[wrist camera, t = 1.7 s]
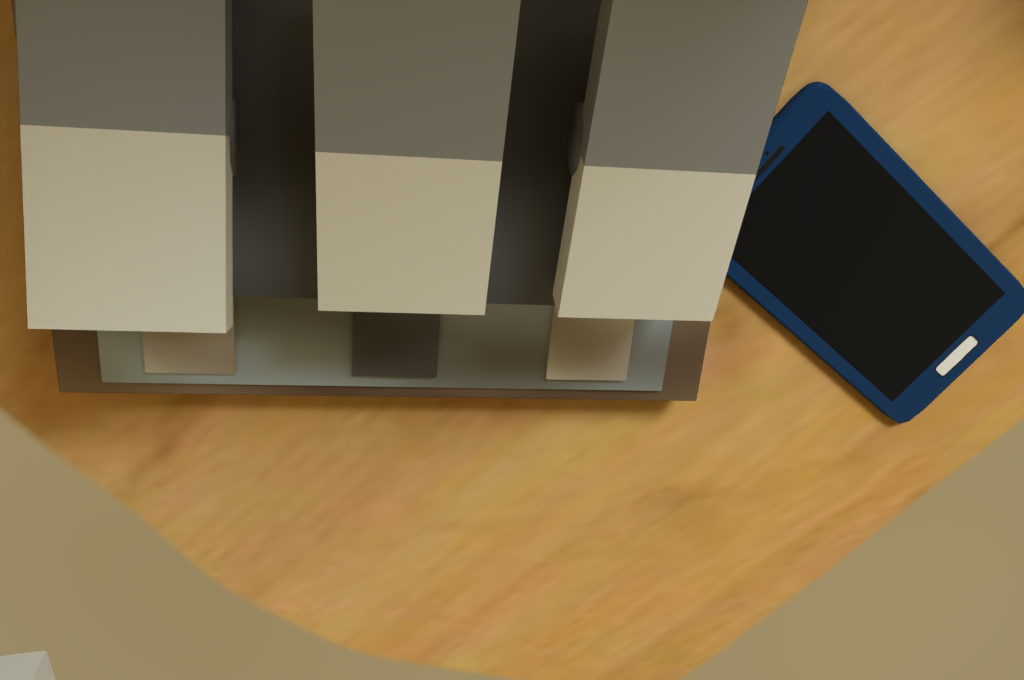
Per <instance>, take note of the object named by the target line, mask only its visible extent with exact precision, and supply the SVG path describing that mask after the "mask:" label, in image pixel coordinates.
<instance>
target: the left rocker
mask: <svg viewBox="0 0 1024 680" xmlns="http://www.w3.org/2000/svg"><path fill="white" fill-rule="evenodd" d="M15 4H16V30H17V56H18V82H19V108H20V135H21V161H22V187H23V213H24V239H25V265H26V292H27V318H28V329H63V330H106V331H149V332H193V333H227V332H228V330H229V329H230V328H231V327H232V326H233V248H232V176H235V175H236V173H237V169H238V163H239V149H240V129H239V115H238V108H237V103H236V101H235V99H232V0H15Z"/></svg>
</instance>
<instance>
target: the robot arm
mask: <svg viewBox="0 0 1024 680" xmlns="http://www.w3.org/2000/svg"><path fill="white" fill-rule="evenodd" d="M0 680H55V676H54V673H53V670H52V667H51V664H50V661H49V658H48V655H47V652H46V650H44V651H36V652H29V653H22V654H14V655H8V656H0Z"/></svg>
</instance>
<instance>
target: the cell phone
mask: <svg viewBox="0 0 1024 680" xmlns="http://www.w3.org/2000/svg"><path fill="white" fill-rule="evenodd" d="M726 276H727V277H728V278H730V279H731V280H732V281H733V282H734V283H735V284H736V285H738V286H739V287H740V288H741V289H742V290H743V291H744V292H746V293H747V294H748V295H749V296H750V297H751V298H752V299H754V300H755V301H756V302H757V303H758V304H759V305H760V306H762V307H763V308H764V309H765V310H766V311H767V312H768V313H770V314H771V315H772V316H773V317H774V318H775V319H776V320H778V321H779V322H780V323H781V324H782V325H783V326H784V327H785V328H787V329H788V330H789V331H790V332H791V333H792V334H793V335H795V336H796V337H797V338H798V339H799V340H800V341H801V342H803V343H804V344H805V345H806V346H807V347H808V348H809V349H811V350H812V351H813V352H814V353H815V354H816V355H817V356H819V357H820V358H821V359H822V360H823V361H824V362H825V363H827V364H828V365H829V366H830V367H831V368H832V369H833V370H835V371H836V372H837V373H838V374H839V375H840V376H841V377H843V378H844V379H845V380H846V381H847V382H848V383H849V384H850V385H852V386H853V387H854V388H855V389H856V390H857V391H858V392H860V393H861V394H862V395H863V396H864V397H865V398H866V399H868V400H869V401H870V402H871V403H872V404H873V405H874V406H876V407H877V408H878V409H879V410H880V411H881V412H882V413H884V414H885V415H887V416H888V417H890V418H891V419H893V420H895V421H896V422H898V423H904V422H907V421H910V420H911V419H912V418H914V417H915V416H916V415H917V414H919V413H920V412H921V411H923V410H924V409H925V408H926V407H927V406H928V405H929V404H930V403H931V402H932V401H933V400H934V399H935V398H936V397H937V396H938V395H940V394H941V393H942V392H943V391H944V390H945V389H946V388H947V387H948V386H949V385H950V384H951V383H952V382H953V381H954V380H955V379H956V378H957V377H958V376H960V375H961V374H962V373H963V372H964V371H965V370H966V369H967V368H968V367H969V366H970V365H971V364H972V363H973V362H974V361H975V360H976V359H977V358H978V357H980V356H981V355H982V354H983V353H984V352H985V351H986V350H987V349H988V348H989V347H990V346H991V345H992V344H993V343H994V342H995V341H996V340H997V339H998V338H999V337H1001V336H1002V335H1003V334H1004V333H1005V332H1006V331H1007V330H1008V329H1009V328H1010V327H1011V326H1012V325H1013V324H1014V323H1015V322H1016V321H1017V320H1018V319H1019V318H1020V317H1021V316H1022V315H1023V313H1024V288H1023V287H1022V285H1021V284H1020V283H1019V281H1018V280H1017V279H1016V278H1015V277H1014V276H1013V275H1012V274H1011V273H1010V272H1009V271H1008V270H1007V269H1006V268H1005V267H1004V266H1003V265H1002V264H1001V262H1000V261H999V260H998V259H997V258H996V257H995V256H994V255H993V254H992V253H991V252H990V251H989V250H988V249H987V248H986V247H985V246H984V245H983V244H982V243H981V241H980V240H979V239H978V238H977V237H976V236H975V235H974V234H973V233H972V232H971V231H970V230H969V229H968V228H967V227H966V226H965V225H964V224H963V223H962V222H961V220H960V219H959V218H958V217H957V216H956V215H955V214H954V213H953V212H952V211H951V210H950V209H949V208H948V207H947V206H946V205H945V204H944V203H943V202H942V201H941V199H940V198H939V197H938V196H937V195H936V194H935V193H934V192H933V191H932V190H931V189H930V188H929V187H928V186H927V185H926V184H925V183H924V182H923V181H922V180H921V178H920V177H919V176H918V175H917V174H916V173H915V172H914V171H913V170H912V169H911V168H910V167H909V166H908V165H907V164H906V163H905V162H904V161H903V160H902V159H901V157H900V156H899V155H898V154H897V153H896V152H895V151H894V150H893V149H892V148H891V147H890V146H889V145H888V144H887V143H886V142H885V141H884V140H883V139H882V138H881V136H880V135H879V134H878V133H877V132H876V131H875V130H874V129H873V128H872V127H871V126H870V125H869V124H868V123H867V122H866V121H865V120H864V119H863V118H862V117H861V115H860V114H859V113H858V112H857V111H856V110H855V109H854V108H853V107H852V106H851V105H850V104H849V103H848V102H847V101H846V100H845V99H844V98H843V97H842V96H840V95H839V94H838V93H837V92H836V91H835V90H833V89H832V88H831V87H830V86H829V85H827V84H824V83H821V82H813V83H810V84H807V85H806V86H805V87H804V88H802V89H801V90H800V91H799V92H798V93H796V94H795V95H794V96H793V97H792V98H791V99H790V100H789V101H788V102H787V103H786V105H785V106H784V107H783V108H782V109H781V110H780V111H779V112H778V113H777V114H776V115H775V116H774V118H773V120H772V123H771V127H770V130H769V133H768V137H767V140H766V143H765V147H764V150H763V153H762V157H761V160H760V163H759V167H758V170H757V173H756V177H755V180H754V184H753V187H752V190H751V194H750V197H749V200H748V204H747V207H746V210H745V214H744V217H743V220H742V224H741V227H740V231H739V234H738V237H737V241H736V244H735V247H734V251H733V254H732V257H731V261H730V264H729V267H728V271H727V274H726Z"/></svg>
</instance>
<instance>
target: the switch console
mask: <svg viewBox="0 0 1024 680" xmlns="http://www.w3.org/2000/svg"><path fill="white" fill-rule="evenodd" d="M11 1H12V9H13V17H14V25H15V33H16V41H17V30H16V4H15V0H11ZM600 5H601V0H521V3H520V12H519V20H518V29H517V38H516V46H515V55H514V64H513V73H512V81H511V90H510V99H509V107H508V116H507V125H506V133H505V142H504V151H503V159H502V168H501V177H500V186H499V194H498V203H497V212H496V220H495V229H494V238H493V246H492V255H491V264H490V273H489V281H488V290H487V299H486V307H485V315H460V314H423V313H386V312H349V311H318V275H317V219H316V162H315V106H314V49H313V0H232V99H235V101H236V103H237V108H238V115H239V129H240V149H239V163H238V169H237V173H236V175H235V176H232V248H233V326H232V327H231V328H230V329H229V330H228V332H227V333H193V332H149V331H106V330H63V329H52V335H53V343H54V351H55V359H56V368H57V376H58V384H59V392H94V393H167V394H240V395H313V396H386V397H459V398H532V399H605V400H679V401H696V398H697V393H698V387H699V382H700V376H701V371H702V365H703V359H704V354H705V348H706V343H707V337H708V332H709V326H710V321H683V320H646V319H609V318H572V317H558V315H557V311H556V306H555V302H554V298H553V288H554V282H555V276H556V270H557V264H558V258H559V252H560V246H561V240H562V234H563V228H564V222H565V216H566V210H567V204H568V197H569V191H570V185H571V179H572V174H571V173H570V170H569V166H568V155H567V144H568V130H569V123H570V117H571V113H572V110H573V107H574V105H575V103H576V102H584V101H585V95H586V89H587V83H588V77H589V71H590V65H591V59H592V53H593V47H594V41H595V35H596V29H597V23H598V17H599V11H600Z"/></svg>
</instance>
